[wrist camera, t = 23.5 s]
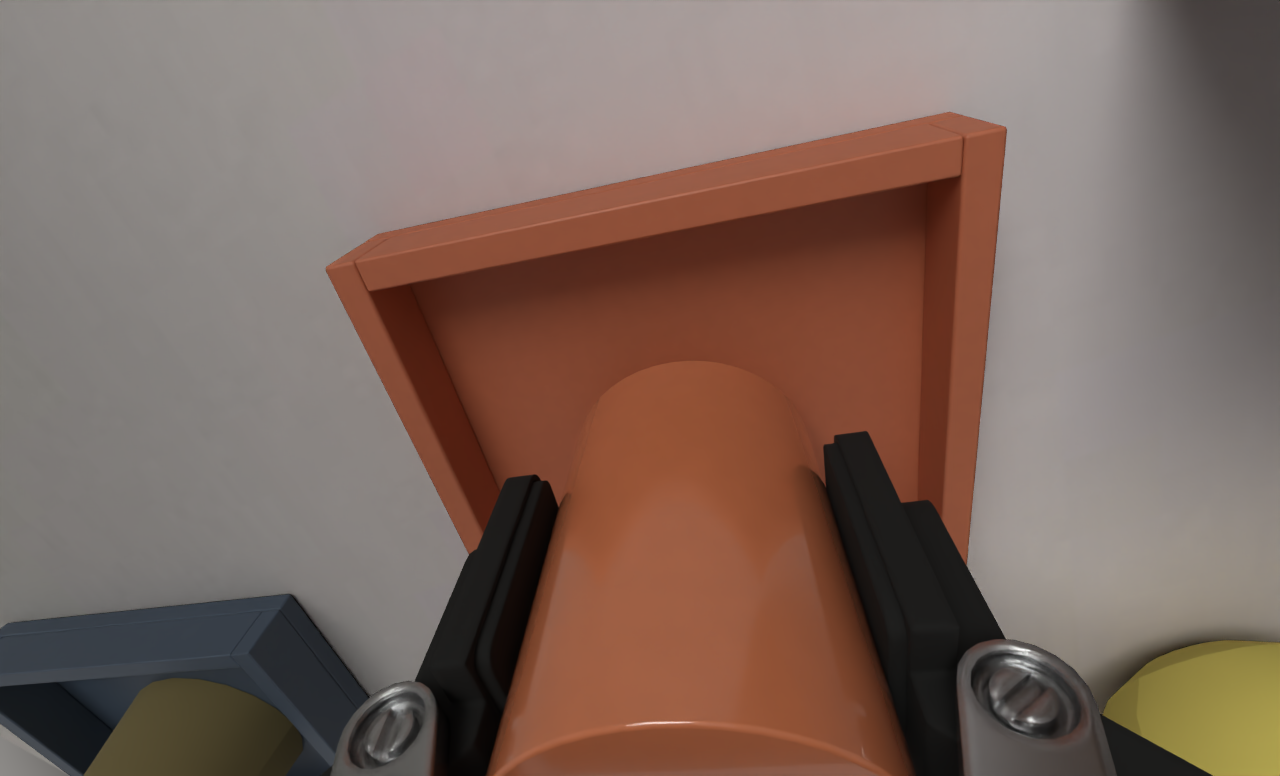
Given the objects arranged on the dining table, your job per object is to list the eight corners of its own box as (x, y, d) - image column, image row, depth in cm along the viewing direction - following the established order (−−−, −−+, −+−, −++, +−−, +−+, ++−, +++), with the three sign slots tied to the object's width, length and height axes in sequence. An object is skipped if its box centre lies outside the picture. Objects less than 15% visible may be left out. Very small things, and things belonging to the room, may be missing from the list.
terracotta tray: (537, 596, 17) (520, 659, 16) (376, 233, 12) (321, 267, 10) (930, 559, 16) (961, 626, 14) (951, 110, 10) (1009, 125, 8)
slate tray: (197, 787, 25) (159, 843, 24) (6, 622, 20) (-61, 679, 18) (429, 777, 24) (408, 838, 22) (290, 593, 18) (247, 653, 16)
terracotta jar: (607, 555, 14) (549, 935, 8) (548, 380, 12) (401, 737, 6) (818, 533, 13) (928, 939, 7) (802, 339, 11) (948, 709, 5)
